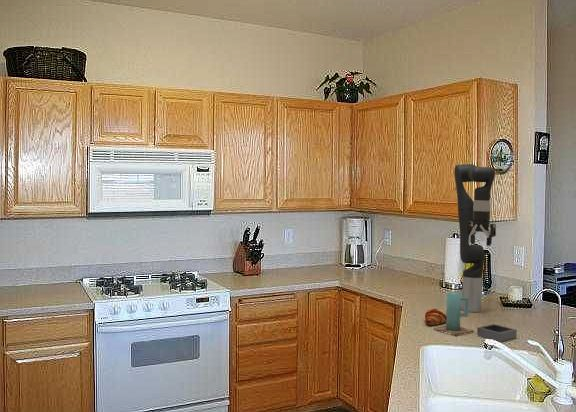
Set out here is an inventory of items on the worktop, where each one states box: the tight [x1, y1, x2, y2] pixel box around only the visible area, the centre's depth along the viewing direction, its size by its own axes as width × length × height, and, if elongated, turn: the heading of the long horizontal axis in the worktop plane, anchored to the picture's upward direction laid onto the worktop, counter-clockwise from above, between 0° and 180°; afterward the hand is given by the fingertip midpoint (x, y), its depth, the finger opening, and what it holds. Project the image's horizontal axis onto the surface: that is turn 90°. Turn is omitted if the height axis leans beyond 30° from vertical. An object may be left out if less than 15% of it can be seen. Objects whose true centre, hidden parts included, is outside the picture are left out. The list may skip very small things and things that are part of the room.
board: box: [433, 325, 475, 336], centre depth 246 cm, size 12×12×1 cm
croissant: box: [424, 308, 446, 326], centre depth 262 cm, size 21×10×8 cm, turn 149°
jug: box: [445, 291, 469, 331], centre depth 246 cm, size 9×6×16 cm, turn 82°
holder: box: [476, 323, 518, 343], centre depth 238 cm, size 11×11×4 cm
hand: (480, 244), depth 263 cm, fingers open, 8 cm apart
